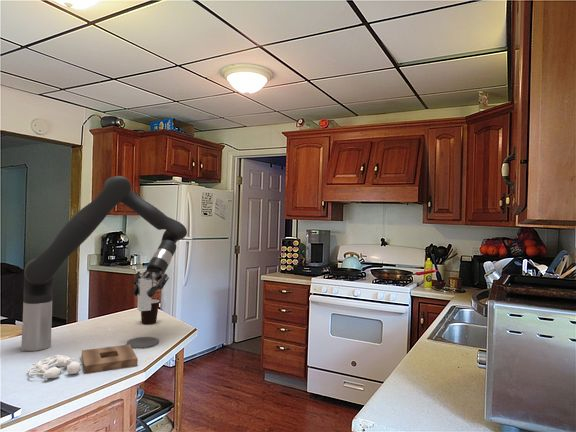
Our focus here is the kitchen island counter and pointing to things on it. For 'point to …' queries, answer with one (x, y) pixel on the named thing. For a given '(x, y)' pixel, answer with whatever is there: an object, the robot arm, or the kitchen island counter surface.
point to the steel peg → (144, 294)
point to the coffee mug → (150, 313)
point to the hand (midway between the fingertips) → (142, 295)
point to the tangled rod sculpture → (54, 372)
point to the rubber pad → (143, 342)
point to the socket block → (108, 358)
